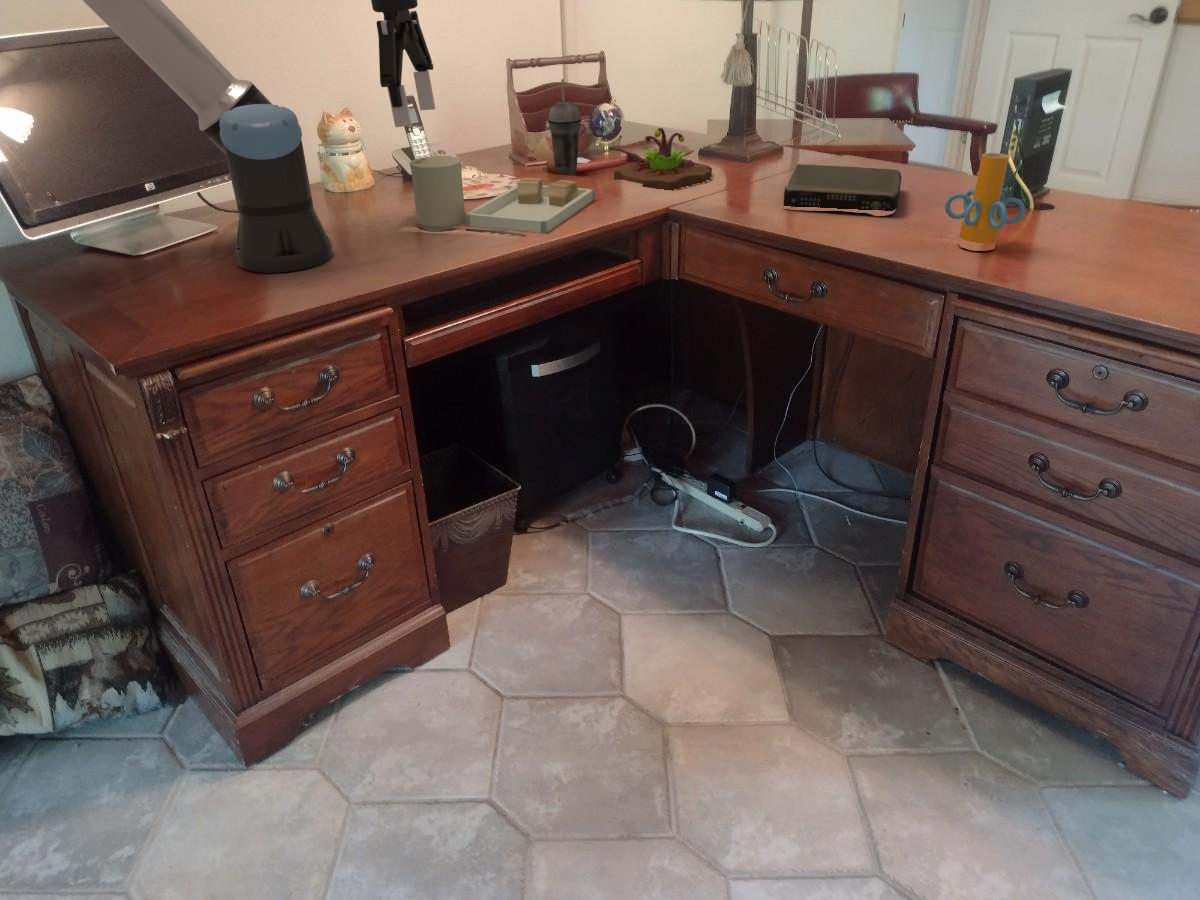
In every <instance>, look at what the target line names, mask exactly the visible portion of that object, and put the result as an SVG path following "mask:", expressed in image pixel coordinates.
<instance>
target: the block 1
mask: <svg viewBox="0 0 1200 900" xmlns="http://www.w3.org/2000/svg"><path fill="white" fill-rule="evenodd" d="M516 185H517V187H518V204H539V203H540V202H541V201H542V200H543V185H544V184H543V178H535V177H522V178H521V179H519V181H517V182H516Z"/></svg>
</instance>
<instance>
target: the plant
mask: <svg viewBox="0 0 1200 900" xmlns="http://www.w3.org/2000/svg"><path fill="white" fill-rule="evenodd" d="M676 136H677V137H678V140H679V142H680V143H683V142H684V141H685V136H684V135H683V134H681V133H679V132H675V133H672V134H671V136H670V137H669V138H668V141H667V135H666V133H665V130H664V128H663V127H658V128H657V129H656V130H655V131H654V136H652V135H646V136H645V137H644V139H643V140H644V143H646V144H649V143H650V142H651V140H653V141H654V142H655V143H656V145H657V147H658V148H657V147H654V148H653V151H650V150H647V149H643V150H642V152H643V153H644V155H643V156H644V158H643V159H641V158H640V159H639V160H638V159H636V158H634V159H632V161H631V162H628V163H625V164H622V165H620V166H618V167H617V168H616V169H615V170H614V171H613V177H614V178H613V180H615V181H616V180H618V181H620V180H621V181H626V182H631V183H636V184H641V188H647V189H648V188H649V189H655V190H660V189H664V190H663V191H667V190H672V191H675V190H674V189H678V190H680V189H679V188H681V187H685V188H687V187H686V186H690V187H692V186H691V185H693V184H696V185H698V184H697V183H703V182H705V181H706V180H710V181H711V177H712V175H713V168H712V167H711V166H709V165H708V164H705V163H698V162H695V161H692V159H685V158H683V157H684V156H686V155H687V154H688V151H683V152H679V153H677V148H672V145H673V141H674V138H675V137H676ZM659 137H661V141H660V140H659V139H658V138H659ZM710 176H711V177H710ZM706 182H707V181H706ZM706 182H705V183H706ZM703 184H704V183H703ZM693 186H694V185H693ZM681 189H682V188H681Z"/></svg>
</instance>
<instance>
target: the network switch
mask: <svg viewBox="0 0 1200 900" xmlns="http://www.w3.org/2000/svg"><path fill="white" fill-rule="evenodd" d="M901 183H902V174H901V172H900V171H899V170H897V169H890V168H877V167H876V168H875V167H859V166H843V165H842V166H841V165H840V166H839V165H824V164H823V165H822V164H821V165H820V164H819V165H818V164H800V163H799V164H797V165H796V167H795V169H794V171H793V173H792V175H791V177H790V179H789V181H788V183H787V185H785V187H784V194H783V207H784V206H791V207H793V206H794V207H818V208H819V207H820V208H837V209H858V210H882V211H883V210H884V211H893V210H895V209H898V206H899V199H900V192H901Z"/></svg>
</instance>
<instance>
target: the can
mask: <svg viewBox="0 0 1200 900" xmlns="http://www.w3.org/2000/svg"><path fill="white" fill-rule="evenodd" d="M409 166H410V172H411V180H412V187H413V188H412V189H413V197H414V203H415V213H416V222H417V224H419V225H421V226H417V229H419V230H420V231H424V232H429V233H430V232H431V233H445V231H447V232H452V231H457V229H458V228H451V226H455V225H459V224H462V223H463V222H464V223H465V217H464V214H466V208H465V197H464V187H463V176H462V175H463V174H462V172H463V171H462V160H461V158H459V157H455V156H451V155H450V156H449V155H448V156H447V155H432V156H430V155H429V156H424V157H418V158H414V159H413V160H411V161H410V162H409Z"/></svg>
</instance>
